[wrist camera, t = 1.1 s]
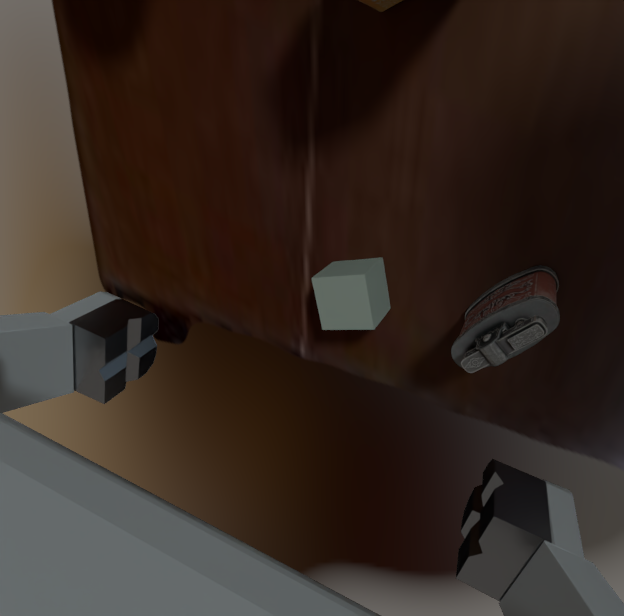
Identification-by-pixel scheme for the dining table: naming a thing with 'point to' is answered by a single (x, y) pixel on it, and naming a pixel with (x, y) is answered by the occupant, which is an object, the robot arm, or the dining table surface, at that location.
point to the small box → (380, 4)
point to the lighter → (508, 319)
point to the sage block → (352, 294)
